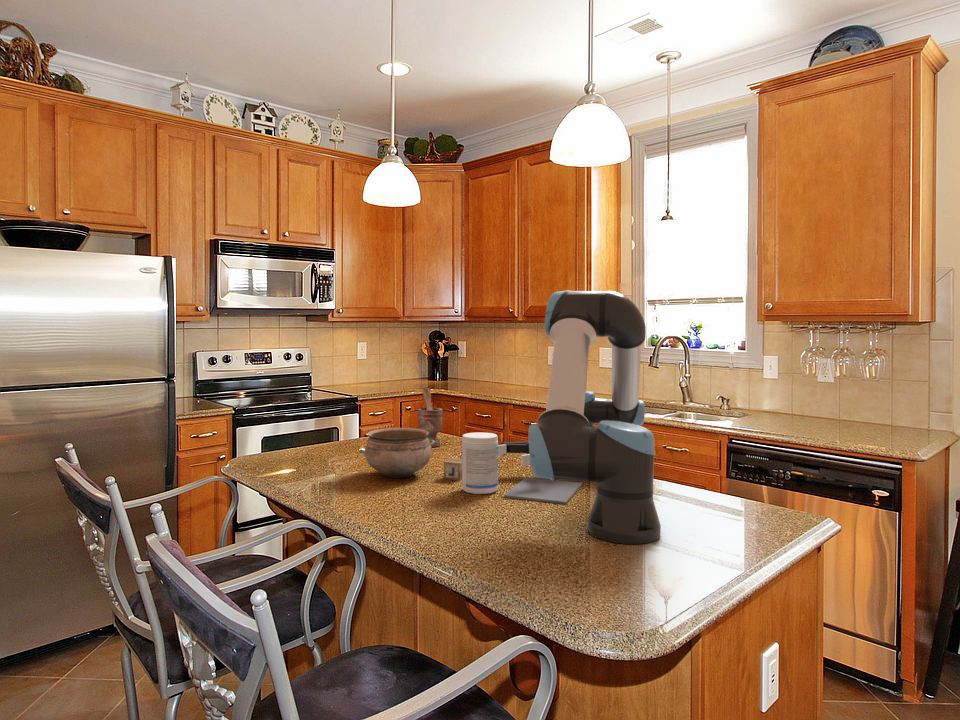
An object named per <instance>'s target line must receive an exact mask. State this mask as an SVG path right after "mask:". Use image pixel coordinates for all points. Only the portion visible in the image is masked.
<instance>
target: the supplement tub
mask: <svg viewBox="0 0 960 720" xmlns="http://www.w3.org/2000/svg"><path fill="white" fill-rule="evenodd" d="M498 445H499V439H498V435H497V434H496V433H492V432H480V431H479V432H467V433H464V434H462V439H461V459H462V480H461V488H462V490H463V491H464V492H465V493H469V494H473V495H487V494H488V495H489V494H492V493H496V492H497V491H498V489H499V455H498Z"/></svg>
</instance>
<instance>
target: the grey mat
mask: <svg viewBox="0 0 960 720" xmlns="http://www.w3.org/2000/svg"><path fill="white" fill-rule="evenodd" d="M582 486H583V482H580V481H569V480H550V479H545V478H538V477H527V476H526V477H524V478H523V479H522V480H521V481H519V482H518V483H517V484H516V485H514V486H512V488H511V489H510V490H509V491H507V492H506V493H505V494H503V498H507V499H517V500H525V501H533V502H540V503H541V502H542V503H550V504H560V505H568V503H569V502H570V501H571V499H572V498H573V497H574V496H575V494H577V492H578V491H579V490H580V488H581V487H582Z"/></svg>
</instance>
